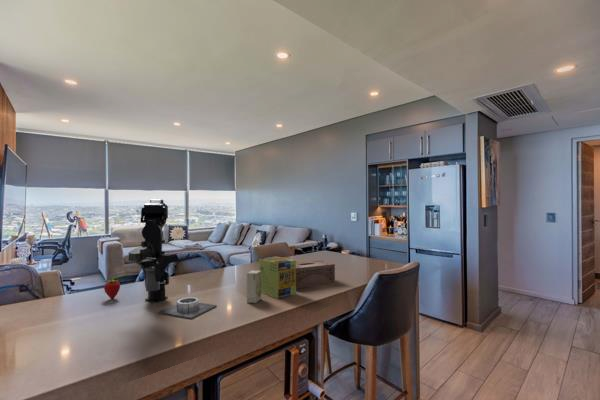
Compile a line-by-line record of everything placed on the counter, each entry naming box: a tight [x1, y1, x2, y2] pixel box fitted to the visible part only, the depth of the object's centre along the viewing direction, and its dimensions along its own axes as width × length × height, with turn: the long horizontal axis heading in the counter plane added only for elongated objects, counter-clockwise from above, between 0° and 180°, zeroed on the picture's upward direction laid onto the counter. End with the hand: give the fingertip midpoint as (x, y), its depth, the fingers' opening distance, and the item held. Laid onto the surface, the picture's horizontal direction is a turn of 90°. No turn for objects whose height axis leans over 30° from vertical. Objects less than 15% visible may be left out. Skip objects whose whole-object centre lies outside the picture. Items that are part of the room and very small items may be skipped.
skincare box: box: [246, 269, 262, 304], centre depth 124 cm, size 6×4×12 cm
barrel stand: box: [157, 296, 218, 320], centre depth 113 cm, size 16×14×4 cm
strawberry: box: [103, 276, 121, 300], centre depth 127 cm, size 6×8×10 cm
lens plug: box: [145, 266, 160, 292], centre depth 106 cm, size 5×5×8 cm
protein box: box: [258, 256, 297, 300], centre depth 136 cm, size 10×15×16 cm
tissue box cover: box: [296, 259, 336, 289], centre depth 154 cm, size 26×14×10 cm, turn 116°
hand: (153, 281), depth 106 cm, fingers closed on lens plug, 4 cm apart
